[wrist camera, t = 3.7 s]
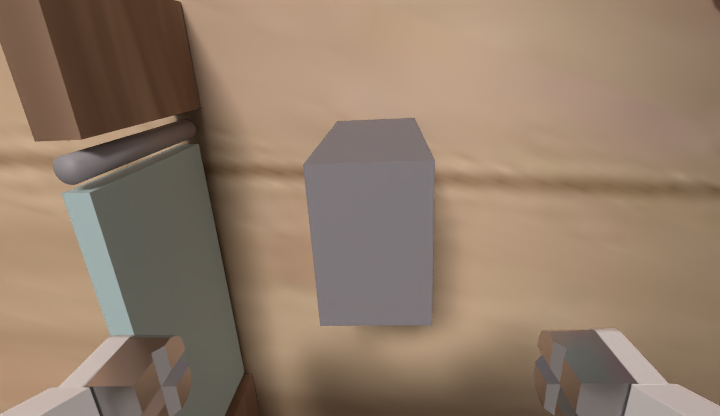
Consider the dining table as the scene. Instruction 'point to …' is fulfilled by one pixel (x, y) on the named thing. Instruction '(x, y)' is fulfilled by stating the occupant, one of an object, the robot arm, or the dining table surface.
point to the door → (157, 253)
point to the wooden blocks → (102, 76)
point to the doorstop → (372, 223)
